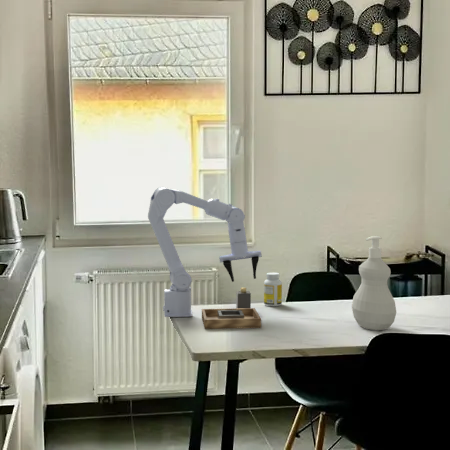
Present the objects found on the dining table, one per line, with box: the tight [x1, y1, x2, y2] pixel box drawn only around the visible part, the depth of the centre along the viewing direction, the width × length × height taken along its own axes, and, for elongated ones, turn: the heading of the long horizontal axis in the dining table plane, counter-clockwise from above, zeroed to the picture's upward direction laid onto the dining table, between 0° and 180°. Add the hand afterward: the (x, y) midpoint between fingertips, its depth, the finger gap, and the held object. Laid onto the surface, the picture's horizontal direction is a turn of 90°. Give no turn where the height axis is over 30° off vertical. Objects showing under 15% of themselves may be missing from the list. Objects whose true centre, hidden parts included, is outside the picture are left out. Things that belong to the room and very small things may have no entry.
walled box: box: [201, 307, 262, 330], centre depth 259 cm, size 18×16×3 cm
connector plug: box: [235, 287, 252, 308], centre depth 275 cm, size 4×4×8 cm
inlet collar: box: [217, 310, 244, 319], centre depth 259 cm, size 8×8×2 cm
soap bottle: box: [351, 235, 397, 331], centre depth 252 cm, size 17×12×29 cm
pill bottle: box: [263, 271, 283, 307], centre depth 287 cm, size 6×6×12 cm
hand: (243, 279), depth 274 cm, fingers open, 7 cm apart
